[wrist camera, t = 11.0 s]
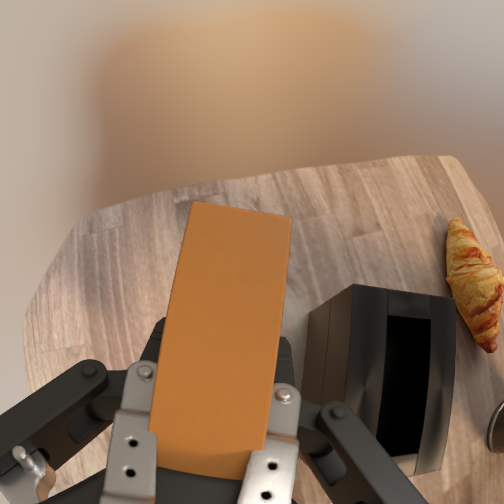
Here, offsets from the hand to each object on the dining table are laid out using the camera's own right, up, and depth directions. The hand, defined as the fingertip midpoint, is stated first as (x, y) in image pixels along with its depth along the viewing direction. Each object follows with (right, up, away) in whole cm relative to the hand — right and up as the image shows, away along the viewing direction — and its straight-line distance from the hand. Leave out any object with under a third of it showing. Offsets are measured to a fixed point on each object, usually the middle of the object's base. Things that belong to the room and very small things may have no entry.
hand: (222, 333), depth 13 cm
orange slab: (-1, -3, +3) cm, 4 cm away
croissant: (+34, -2, +24) cm, 41 cm away
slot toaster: (+12, -11, +18) cm, 24 cm away
